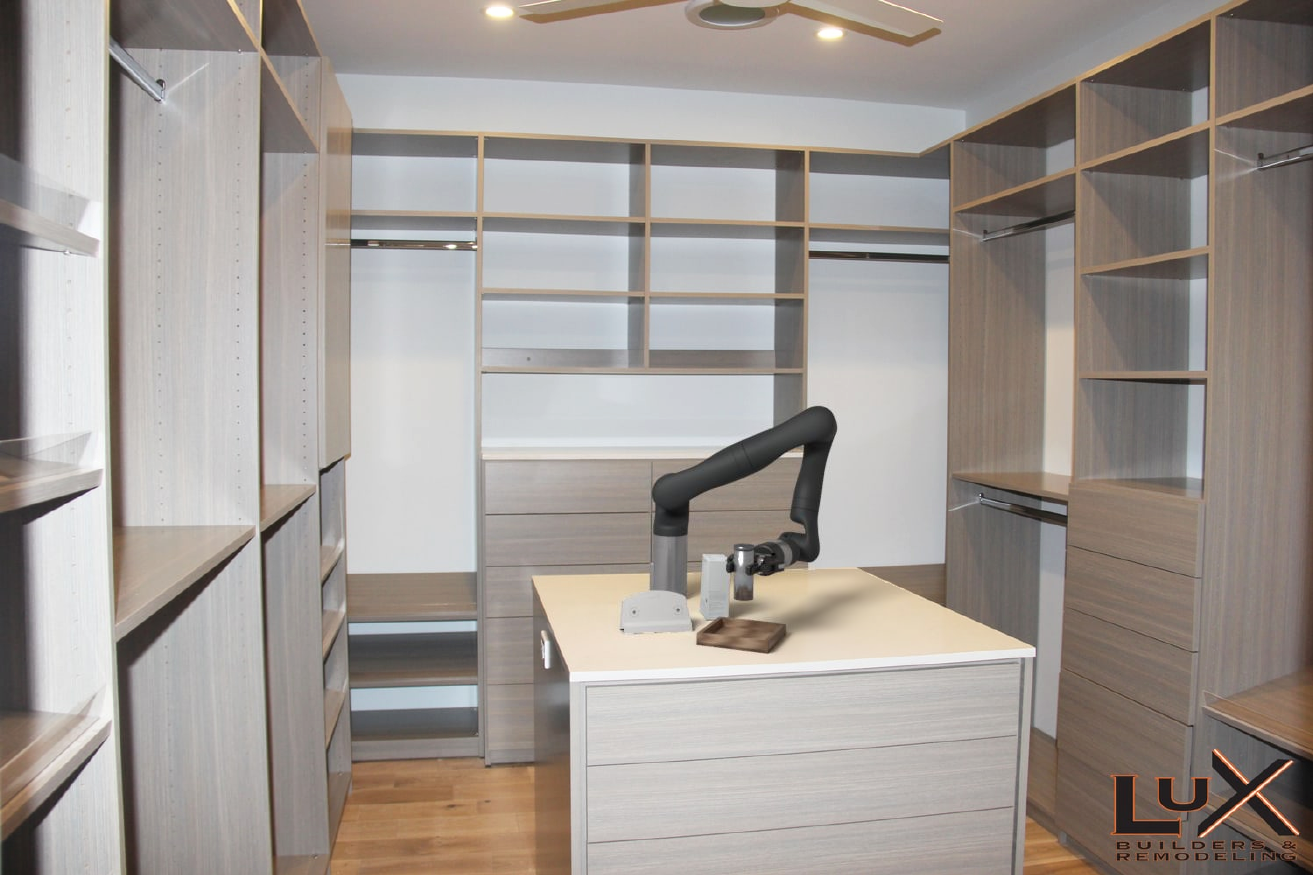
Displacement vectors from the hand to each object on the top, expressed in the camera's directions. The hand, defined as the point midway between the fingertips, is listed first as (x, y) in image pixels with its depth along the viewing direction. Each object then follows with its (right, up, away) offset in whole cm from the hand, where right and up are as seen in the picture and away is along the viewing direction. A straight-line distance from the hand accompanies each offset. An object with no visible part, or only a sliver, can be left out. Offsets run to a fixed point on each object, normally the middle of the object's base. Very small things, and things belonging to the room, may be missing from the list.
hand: (738, 569), depth 199 cm
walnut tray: (+1, -16, +3) cm, 16 cm away
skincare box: (-4, -15, +23) cm, 28 cm away
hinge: (-18, -16, +11) cm, 27 cm away
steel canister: (+1, -7, +3) cm, 8 cm away
